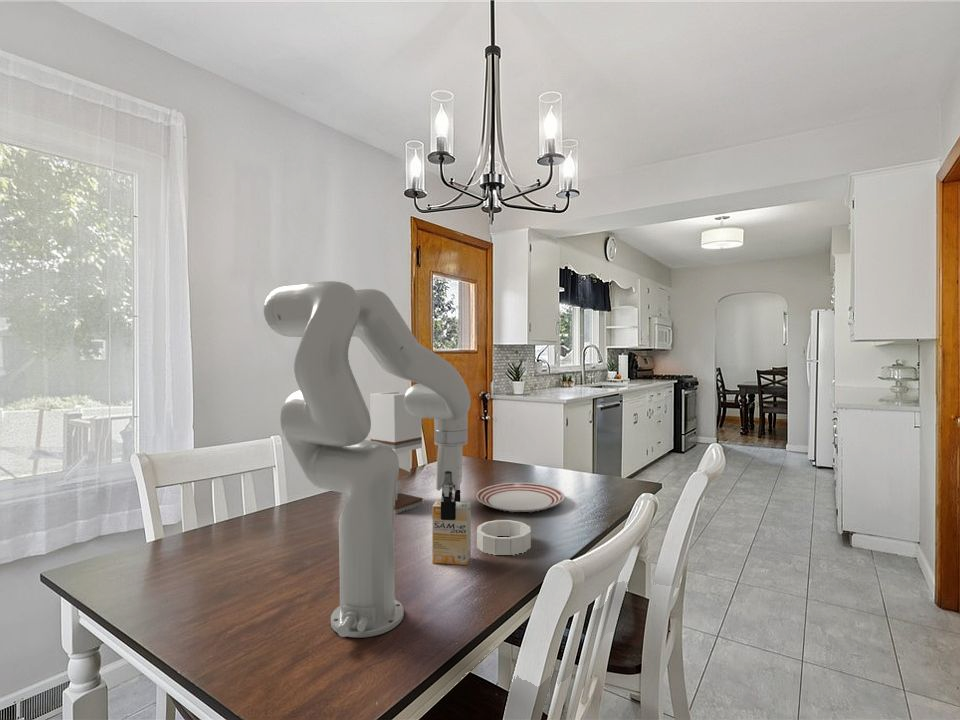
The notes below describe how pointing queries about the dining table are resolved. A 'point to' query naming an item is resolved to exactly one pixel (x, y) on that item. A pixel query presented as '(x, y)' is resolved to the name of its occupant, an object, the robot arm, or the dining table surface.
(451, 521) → the supplement box
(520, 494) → the dinner plate
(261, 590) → the dining table surface
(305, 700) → the dining table surface
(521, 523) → the white faceted ring
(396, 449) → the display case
